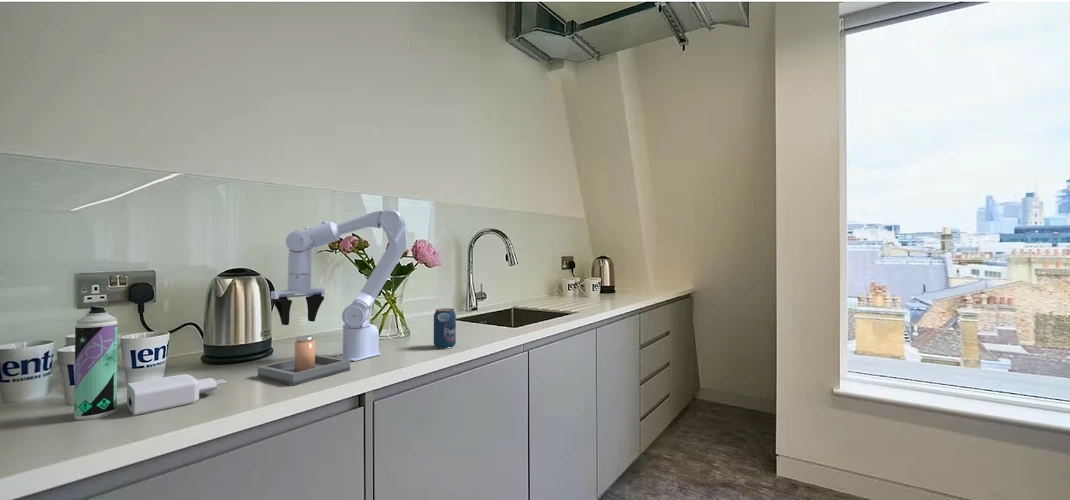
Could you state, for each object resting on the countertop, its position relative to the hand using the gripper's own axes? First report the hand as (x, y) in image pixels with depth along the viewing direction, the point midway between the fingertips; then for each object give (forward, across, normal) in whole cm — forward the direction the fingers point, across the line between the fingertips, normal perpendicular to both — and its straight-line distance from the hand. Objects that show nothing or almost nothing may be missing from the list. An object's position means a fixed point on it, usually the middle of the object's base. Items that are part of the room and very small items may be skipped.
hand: (298, 322), depth 120 cm
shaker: (+10, +7, +14) cm, 19 cm away
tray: (+10, +7, +14) cm, 19 cm away
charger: (+11, +32, +11) cm, 35 cm away
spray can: (+11, +43, +6) cm, 45 cm away
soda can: (+10, -33, +24) cm, 42 cm away
